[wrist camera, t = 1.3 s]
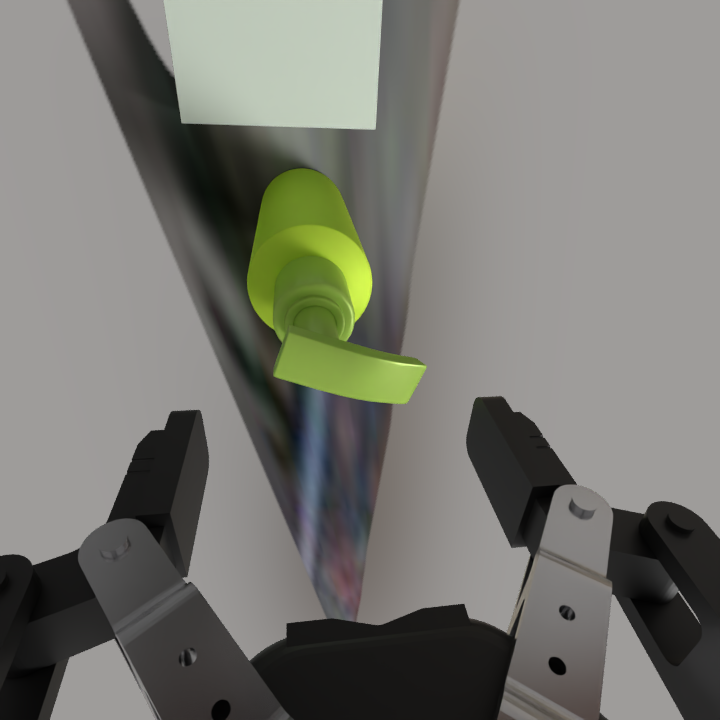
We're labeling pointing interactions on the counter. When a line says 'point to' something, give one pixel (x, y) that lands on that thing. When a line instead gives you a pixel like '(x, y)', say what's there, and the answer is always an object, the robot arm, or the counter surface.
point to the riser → (276, 61)
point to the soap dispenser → (319, 292)
